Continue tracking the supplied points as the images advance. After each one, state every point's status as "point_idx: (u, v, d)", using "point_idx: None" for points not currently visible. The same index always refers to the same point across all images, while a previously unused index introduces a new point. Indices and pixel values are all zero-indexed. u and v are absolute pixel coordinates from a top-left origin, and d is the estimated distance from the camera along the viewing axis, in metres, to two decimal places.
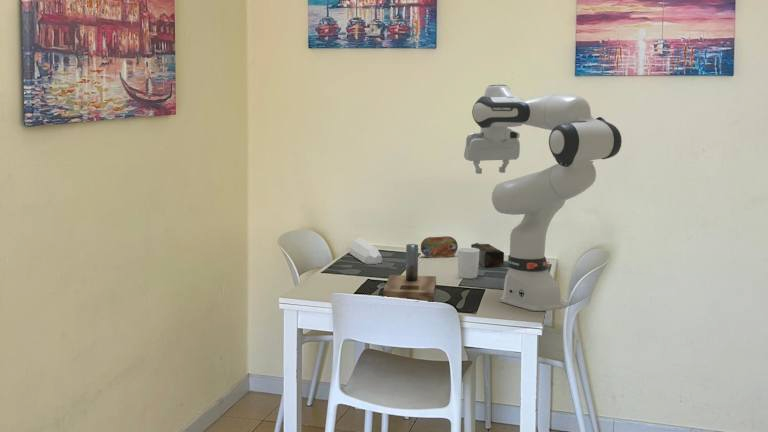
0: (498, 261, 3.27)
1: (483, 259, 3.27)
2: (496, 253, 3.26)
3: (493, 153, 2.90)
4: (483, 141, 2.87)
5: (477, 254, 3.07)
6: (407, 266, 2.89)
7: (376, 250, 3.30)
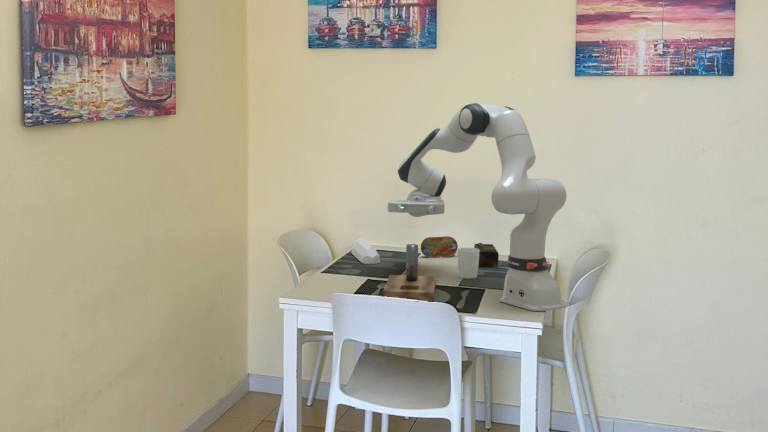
0: (492, 261, 3.26)
1: None
2: (490, 253, 3.26)
3: (414, 202, 3.06)
4: (403, 200, 3.10)
5: (477, 254, 3.07)
6: (407, 266, 2.89)
7: (374, 250, 3.30)
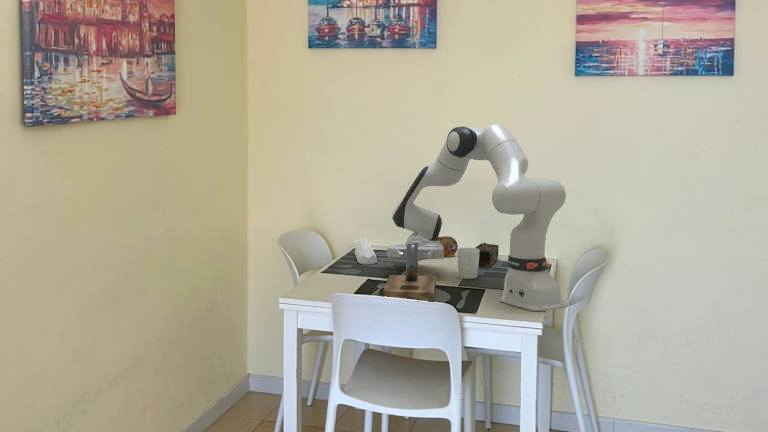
0: (483, 261, 3.26)
1: None
2: (481, 253, 3.26)
3: None
4: None
5: (477, 254, 3.07)
6: (407, 266, 2.89)
7: (371, 250, 3.30)
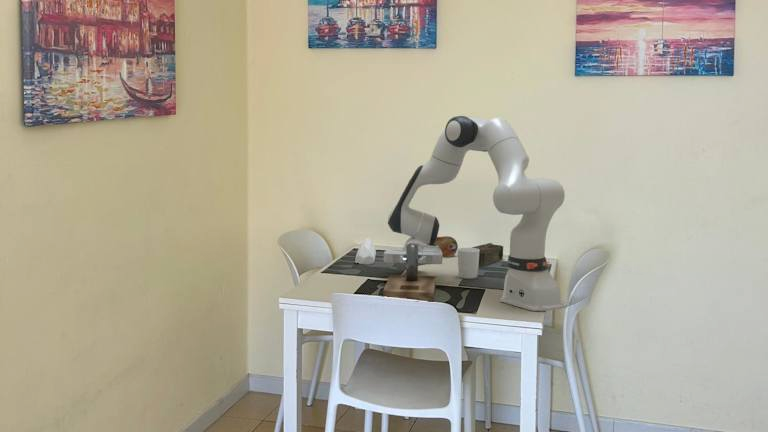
0: None
1: None
2: None
3: None
4: (400, 249, 3.00)
5: (477, 254, 3.07)
6: (407, 266, 2.89)
7: (367, 250, 3.29)
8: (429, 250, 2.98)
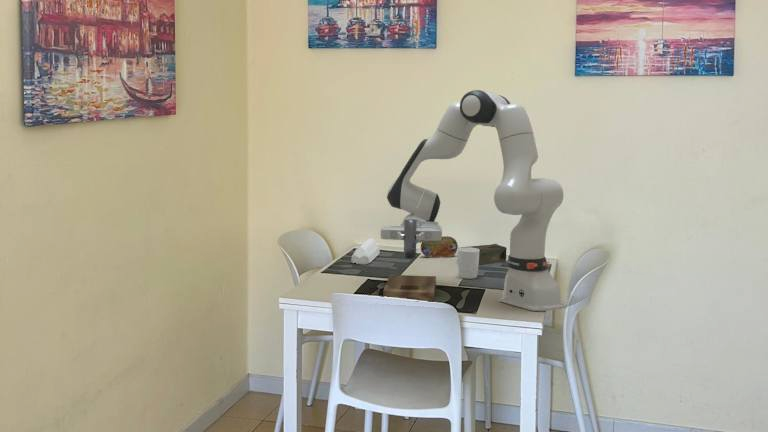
0: None
1: None
2: None
3: None
4: (397, 226, 2.88)
5: (477, 254, 3.07)
6: (405, 242, 2.76)
7: (362, 250, 3.29)
8: (428, 226, 2.86)
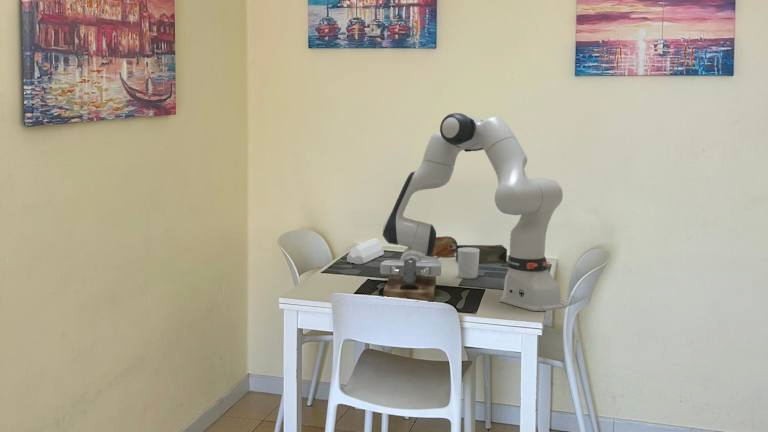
0: None
1: None
2: (458, 248, 3.35)
3: None
4: (397, 260, 2.89)
5: (477, 254, 3.07)
6: (405, 282, 2.78)
7: (357, 250, 3.30)
8: (427, 261, 2.88)
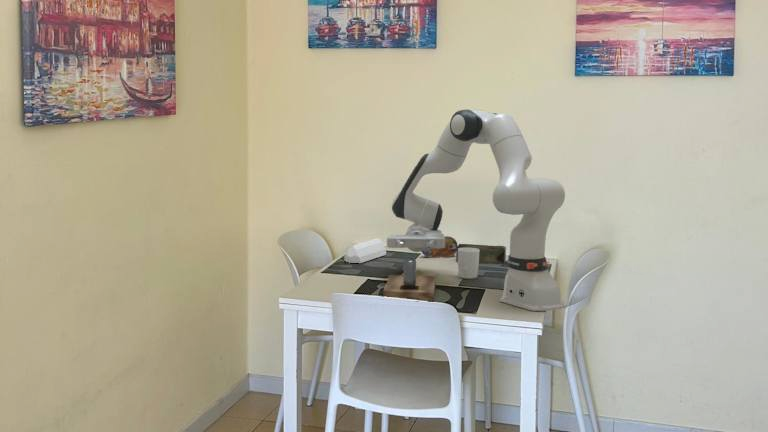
0: None
1: None
2: (457, 247, 3.38)
3: (413, 236, 2.98)
4: None
5: (477, 254, 3.07)
6: (404, 282, 2.78)
7: (354, 250, 3.30)
8: (432, 235, 3.01)
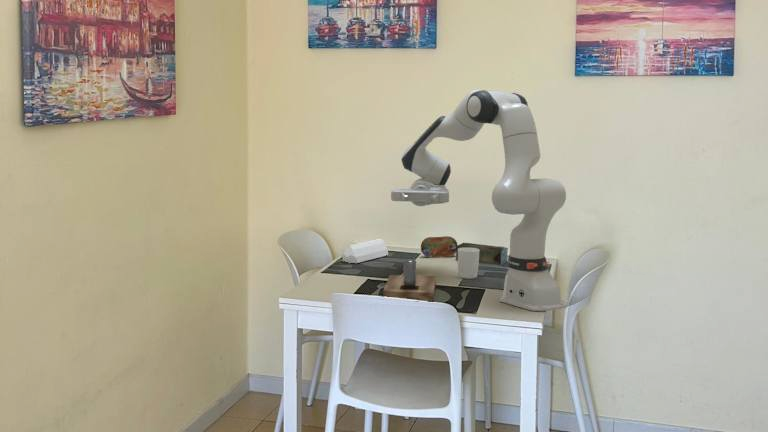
0: None
1: None
2: None
3: (418, 190, 3.00)
4: (407, 189, 3.04)
5: (477, 254, 3.07)
6: (404, 282, 2.78)
7: (350, 250, 3.31)
8: (436, 189, 3.02)
